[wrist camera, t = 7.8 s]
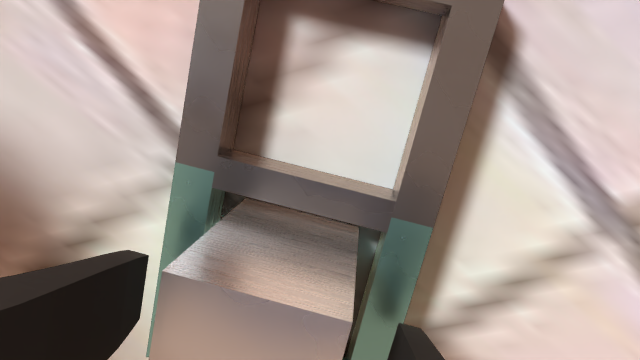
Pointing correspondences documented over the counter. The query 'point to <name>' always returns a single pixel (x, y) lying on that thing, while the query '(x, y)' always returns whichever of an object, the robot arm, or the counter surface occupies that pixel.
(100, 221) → the counter surface
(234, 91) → the grey teal tray
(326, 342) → the beige rectangular block
